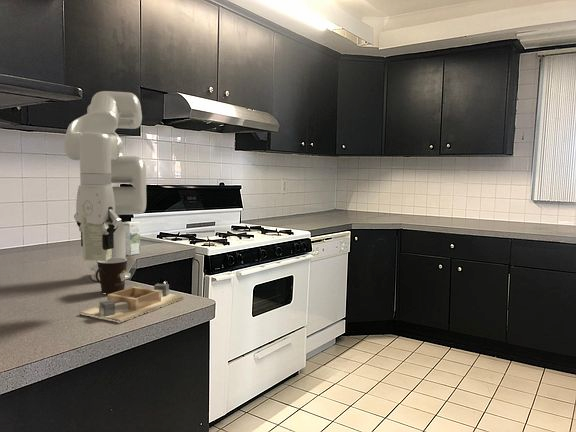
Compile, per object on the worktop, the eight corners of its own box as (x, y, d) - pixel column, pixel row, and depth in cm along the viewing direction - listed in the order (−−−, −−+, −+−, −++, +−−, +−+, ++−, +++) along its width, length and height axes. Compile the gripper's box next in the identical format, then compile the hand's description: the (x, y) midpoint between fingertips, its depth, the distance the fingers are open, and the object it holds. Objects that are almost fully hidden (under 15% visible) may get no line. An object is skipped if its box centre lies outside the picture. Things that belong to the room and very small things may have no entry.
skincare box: (112, 258, 128) (111, 213, 127) (106, 261, 124) (105, 215, 122) (89, 257, 128) (88, 212, 127) (81, 260, 124) (80, 214, 122)
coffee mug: (118, 287, 152) (117, 256, 151) (133, 292, 147) (132, 260, 146) (83, 294, 143) (82, 261, 142) (97, 299, 138) (97, 265, 137)
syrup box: (132, 252, 213) (131, 220, 211) (140, 254, 209) (140, 221, 208) (121, 254, 208) (120, 221, 206) (130, 256, 205) (129, 222, 203)
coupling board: (79, 315, 123) (79, 300, 123) (146, 293, 146) (146, 280, 145) (120, 323, 117) (120, 307, 117) (183, 299, 140) (183, 286, 139)
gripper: (60, 179, 124) (62, 246, 126) (108, 182, 116) (109, 253, 118) (84, 179, 131) (86, 242, 133) (131, 181, 123) (132, 248, 125)
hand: (97, 247), depth 125 cm, fingers closed on skincare box, 7 cm apart
